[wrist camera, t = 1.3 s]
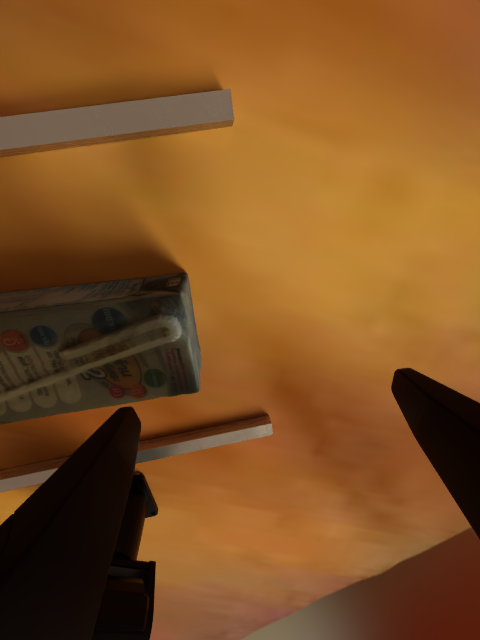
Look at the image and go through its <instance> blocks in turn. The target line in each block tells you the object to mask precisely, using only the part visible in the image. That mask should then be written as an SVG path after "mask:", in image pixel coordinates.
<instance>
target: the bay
mask: <svg viewBox="0 0 480 640" xmlns="http://www.w3.org/2000/svg"><path fill="white" fill-rule="evenodd" d="M233 122H234V114H233V106H232V98H231V90H230V89H226V90H217V91H209V92H201V93H193V94H185V95H177V96H168V97H160V98H152V99H144V100H136V101H127V102H119V103H111V104H103V105H95V106H87V107H78V108H70V109H62V110H54V111H46V112H38V113H29V114H21V115H13V116H5V117H0V157H2V156H10V155H18V154H25V153H33V152H40V151H48V150H56V149H63V148H71V147H78V146H86V145H94V144H101V143H109V142H116V141H124V140H132V139H139V138H147V137H154V136H162V135H169V134H177V133H185V132H192V131H200V130H207V129H215V128H223V127H230V126H232V125H233ZM268 435H273V432H272V423H271V420H270V417H269V415H266V416H261V417H256V418H252V419H247V420H242V421H237V422H232V423H227V424H223V425H218V426H213V427H208V428H203V429H198V430H193V431H189V432H184V433H179V434H174V435H169V436H164V437H160V438H155V439H150V440H145V441H140V442H139V445H138V451H137V458H136V463H141V462H146V461H150V460H155V459H160V458H164V457H169V456H174V455H179V454H183V453H188V452H193V451H198V450H202V449H207V448H212V447H216V446H221V445H226V444H231V443H235V442H240V441H245V440H250V439H254V438H259V437H264V436H268ZM69 457H70V456H67V457H63V458H58V459H53V460H48V461H43V462H38V463H34V464H29V465H24V466H19V467H14V468H9V469H4V470H0V492H4V491H8V490H13V489H18V488H23V487H27V486H32V485H37V484H42V483H44V482H45V481H46V480H47V479H48V478H49V477H50V476H51V475H52V474H53V473H54V472H55V471H56V470H57V469H58V468H59V467H60V466H61V465H62V464H63V463H64V462H65V461H66V460H67V459H68V458H69Z"/></svg>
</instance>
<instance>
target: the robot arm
mask: <svg viewBox="0 0 480 640" xmlns="http://www.w3.org/2000/svg"><path fill="white" fill-rule="evenodd" d="M391 389H392V393H393V395H394V397H395V399H396V401H397V403H398V405H399V407H400V409H401V411H402V413H403V415H404V417H405V419H406V421H407V423H408V425H409V427H410V429H411V431H412V433H413V435H414V437H415V438H416V440H417V442H418V443H419V445H420V446H421V448H422V450H423V451H424V453H425V454H426V456H427V457H428V459H429V461H430V462H431V464H432V465H433V467H434V468H435V470H436V472H437V473H438V475H439V476H440V478H441V479H442V481H443V483H444V484H445V486H446V487H447V489H448V490H449V492H450V494H451V495H452V497H453V498H454V500H455V501H456V503H457V505H458V506H459V508H460V509H461V511H462V512H463V514H464V516H465V517H466V519H467V520H468V522H469V523H470V525H471V527H472V528H473V530H474V531H475V533H476V534H477V536H478V538H479V539H480V403H478V402H477V401H475V400H473V399H471V398H469V397H467V396H465V395H463V394H461V393H459V392H457V391H455V390H453V389H451V388H449V387H447V386H445V385H443V384H441V383H439V382H437V381H435V380H433V379H431V378H429V377H427V376H425V375H423V374H421V373H419V372H417V371H415V370H413V369H411V368H402V369H397V370H396V371H395V373H394V377H393V382H392V386H391ZM140 432H141V422H140V420H139V418H138V416H137V414H136V412H135V410H134V409H133V407H130V406H129V407H122V408H119V409H118V410H117V411H116V412H115V413H114V414H113V415H112V416H111V417H110V418H109V419H108V420H107V421H106V422H105V423H104V424H103V425H102V426H101V427H100V428H99V429H97V430H96V431H95V432H94V433H93V434H92V435H91V436H90V437H89V438H88V439H87V440H86V441H85V442H84V443H83V444H82V445H81V446H80V447H79V448H78V449H77V450H76V451H75V452H74V453H73V454H72V455H71V456H70V457H69V458H68V459H67V460H66V461H65V462H64V463H63V464H62V465H61V466H60V467H59V468H58V469H57V470H56V471H55V472H54V473H53V474H52V475H51V476H50V477H49V478H48V479H47V480H46V481H45V482H44V483H43V484H42V485H41V486H40V487H39V488H38V489H37V490H36V491H35V492H34V493H33V494H32V495H31V496H30V497H29V498H28V499H27V500H26V501H25V502H24V503H23V504H22V505H21V506H20V507H19V508H18V509H17V510H16V511H15V512H14V514H12V515H11V516H10V517H9V518H7V519H6V520H5V521H4V522H3V523H2V524H1V525H0V640H149V639H150V634H151V629H152V622H153V611H154V589H155V567H156V562H155V561H149V562H145V561H137V555H138V551H139V546H140V541H141V536H142V531H143V526H144V521H145V518H148V517H152V516H156V515H157V514H158V507H157V505H156V503H155V500H154V498H153V496H152V493H151V491H150V489H149V486H148V484H147V481H146V479H145V477H144V476H143V475H134V470H135V464H136V458H137V451H138V445H139V438H140ZM133 475H134V476H133Z"/></svg>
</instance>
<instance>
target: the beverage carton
mask: <svg viewBox="0 0 480 640" xmlns="http://www.w3.org/2000/svg"><path fill="white" fill-rule="evenodd" d="M200 370H201V354H200V345H199V342H198V336H197V331H196V323H195V317H194V311H193V304H192V298H191V291H190V284H189V279H188V275H187V273H177V274H166V275H160V276H153V277H145V278H135V279H125V280H115V281H107V282H98V283H89V284H79V285H70V286H58V287H49V288H40V289H31V290H21V291H12V292H4V293H0V424H6V423H12V422H17V421H23V420H28V419H35V418H40V417H46V416H52V415H57V414H63V413H70V412H78V411H83V410H88V409H95V408H101V407H108V406H114V405H120V404H126V403H132V402H138V401H144V400H149V399H154V398H159V397H170V396H177V395H181V394H192V393H196V392H199V390H200Z"/></svg>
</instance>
